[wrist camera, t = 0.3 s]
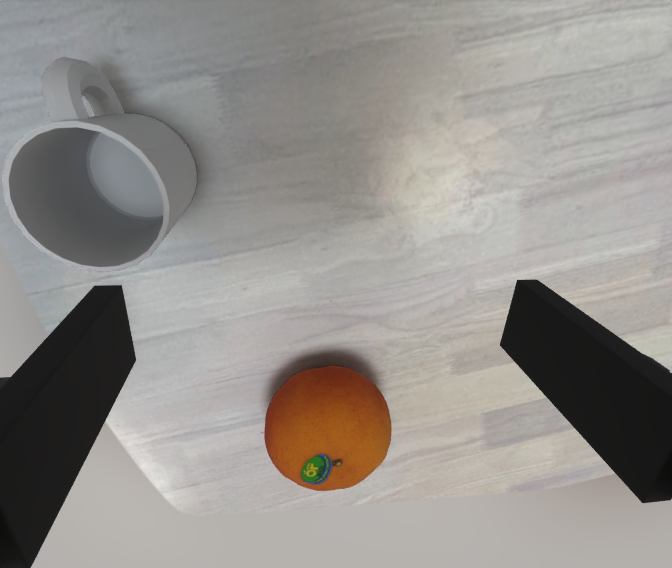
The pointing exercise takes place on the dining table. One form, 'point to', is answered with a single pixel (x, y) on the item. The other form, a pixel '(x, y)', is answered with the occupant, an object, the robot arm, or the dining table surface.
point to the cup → (96, 175)
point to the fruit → (327, 428)
